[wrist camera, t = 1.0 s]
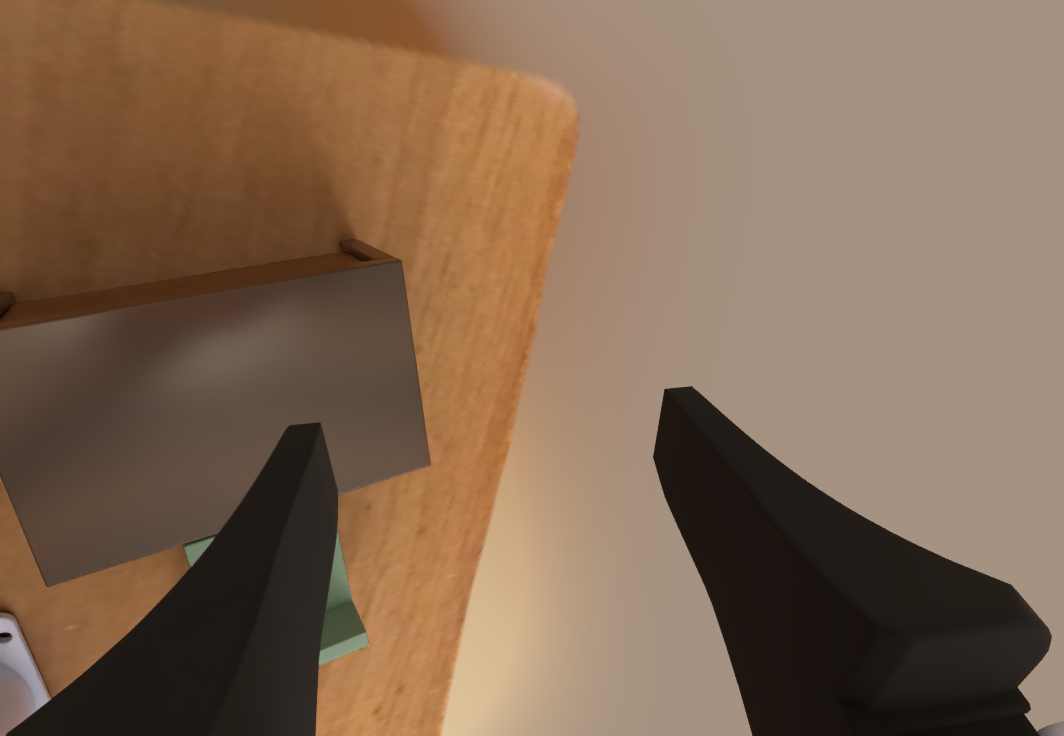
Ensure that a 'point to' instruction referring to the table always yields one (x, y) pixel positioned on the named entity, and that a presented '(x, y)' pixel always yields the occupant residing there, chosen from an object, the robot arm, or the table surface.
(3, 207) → the table surface
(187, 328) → the desk
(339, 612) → the green seat
